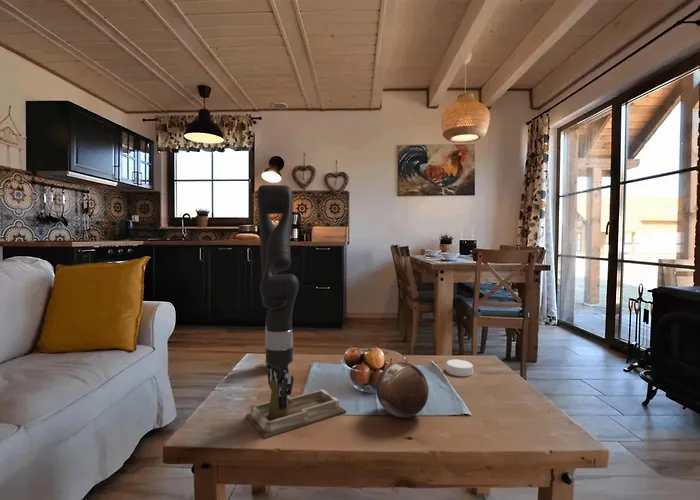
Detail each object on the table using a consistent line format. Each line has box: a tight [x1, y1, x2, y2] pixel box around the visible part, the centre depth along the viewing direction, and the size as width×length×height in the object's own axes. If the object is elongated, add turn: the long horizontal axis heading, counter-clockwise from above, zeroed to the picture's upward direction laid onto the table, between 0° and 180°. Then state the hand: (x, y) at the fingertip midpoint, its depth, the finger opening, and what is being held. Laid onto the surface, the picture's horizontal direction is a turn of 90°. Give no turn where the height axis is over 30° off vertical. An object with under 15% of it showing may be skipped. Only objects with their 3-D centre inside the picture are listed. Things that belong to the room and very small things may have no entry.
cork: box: [268, 378, 290, 421], centre depth 102 cm, size 6×6×11 cm
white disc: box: [445, 359, 474, 377], centre depth 141 cm, size 10×10×4 cm
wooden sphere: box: [376, 361, 430, 418], centre depth 106 cm, size 15×15×15 cm
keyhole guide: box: [246, 388, 347, 440], centre depth 105 cm, size 14×25×3 cm, turn 125°
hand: (279, 405), depth 102 cm, fingers closed on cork, 4 cm apart
